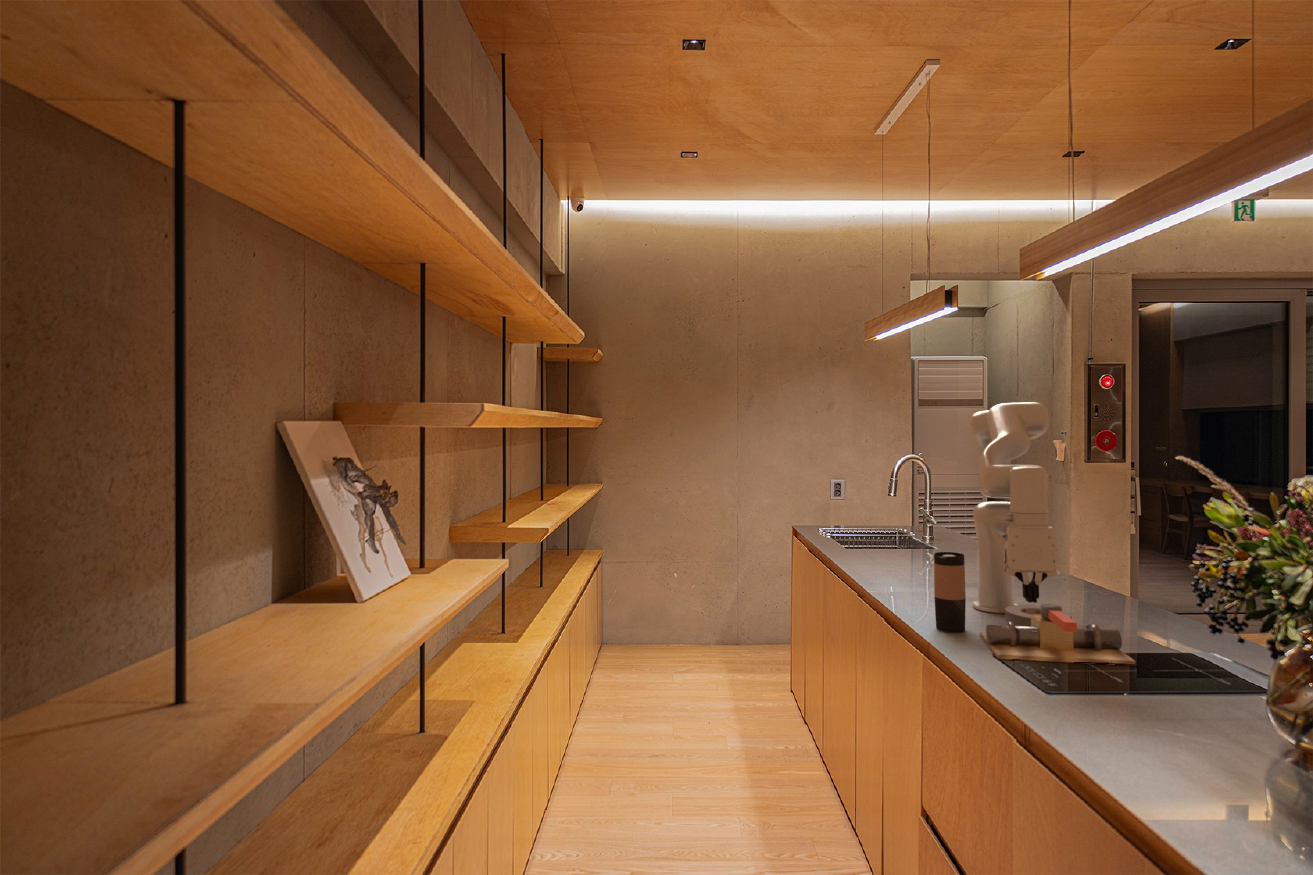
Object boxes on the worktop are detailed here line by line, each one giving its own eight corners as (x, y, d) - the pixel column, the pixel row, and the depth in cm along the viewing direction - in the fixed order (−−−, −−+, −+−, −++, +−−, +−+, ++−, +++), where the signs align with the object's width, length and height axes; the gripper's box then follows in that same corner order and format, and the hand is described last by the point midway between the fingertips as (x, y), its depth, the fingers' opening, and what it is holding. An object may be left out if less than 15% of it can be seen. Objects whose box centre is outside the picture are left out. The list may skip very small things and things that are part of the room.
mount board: (997, 658, 159) (997, 654, 159) (980, 636, 177) (979, 632, 177) (1135, 665, 153) (1135, 660, 153) (1102, 641, 170) (1102, 637, 170)
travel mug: (960, 625, 187) (959, 551, 188) (970, 633, 180) (969, 556, 180) (931, 625, 188) (929, 551, 188) (940, 633, 181) (938, 556, 181)
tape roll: (1074, 628, 184) (1074, 609, 184) (1068, 642, 171) (1068, 622, 171) (1010, 620, 193) (1010, 601, 193) (1000, 633, 180) (999, 613, 180)
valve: (992, 651, 165) (991, 619, 165) (985, 642, 171) (984, 612, 172) (1124, 657, 158) (1123, 624, 158) (1111, 648, 165) (1111, 617, 165)
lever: (1038, 614, 168) (1038, 603, 168) (1058, 615, 167) (1058, 604, 167) (1059, 631, 153) (1059, 620, 153) (1081, 632, 152) (1081, 620, 152)
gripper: (997, 521, 155) (999, 603, 155) (1071, 522, 152) (1073, 606, 151) (989, 518, 163) (991, 596, 162) (1059, 519, 159) (1061, 599, 159)
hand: (1031, 601), depth 157 cm, fingers closed
